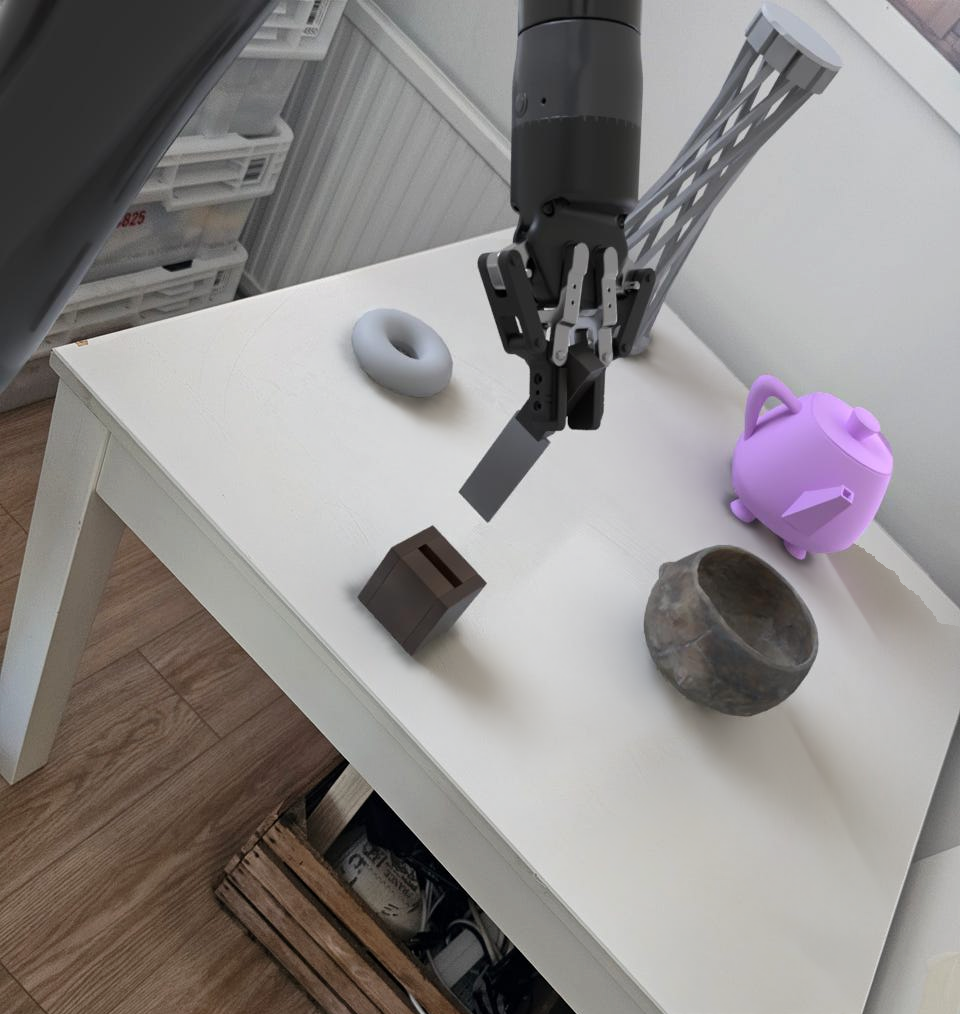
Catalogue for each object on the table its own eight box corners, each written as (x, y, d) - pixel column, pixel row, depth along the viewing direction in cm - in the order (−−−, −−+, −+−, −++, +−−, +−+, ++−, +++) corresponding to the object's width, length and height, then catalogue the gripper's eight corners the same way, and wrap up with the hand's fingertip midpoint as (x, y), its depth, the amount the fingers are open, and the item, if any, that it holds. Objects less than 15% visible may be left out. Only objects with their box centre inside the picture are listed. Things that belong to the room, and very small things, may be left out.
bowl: (612, 581, 94) (680, 510, 87) (746, 639, 99) (819, 576, 93) (621, 704, 85) (697, 636, 78) (767, 760, 90) (850, 700, 84)
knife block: (356, 597, 77) (391, 547, 73) (398, 573, 81) (432, 524, 77) (410, 655, 76) (448, 608, 72) (449, 629, 80) (487, 583, 76)
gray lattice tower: (661, 336, 128) (870, 74, 104) (621, 368, 118) (842, 86, 95) (579, 263, 128) (769, -15, 105) (533, 289, 119) (731, -12, 95)
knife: (450, 495, 71) (560, 342, 62) (467, 487, 72) (577, 336, 63) (480, 527, 71) (595, 377, 61) (496, 517, 72) (611, 370, 63)
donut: (331, 321, 96) (365, 399, 91) (345, 292, 93) (381, 369, 89) (421, 337, 102) (457, 410, 97) (437, 309, 99) (475, 383, 95)
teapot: (673, 514, 106) (772, 409, 96) (697, 419, 120) (785, 320, 110) (824, 617, 109) (936, 526, 99) (830, 513, 123) (927, 424, 113)
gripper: (537, 89, 53) (529, 435, 57) (701, 135, 62) (684, 430, 66) (442, 116, 58) (441, 430, 62) (606, 154, 67) (596, 426, 71)
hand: (566, 428), depth 64 cm, fingers closed on knife, 2 cm apart
